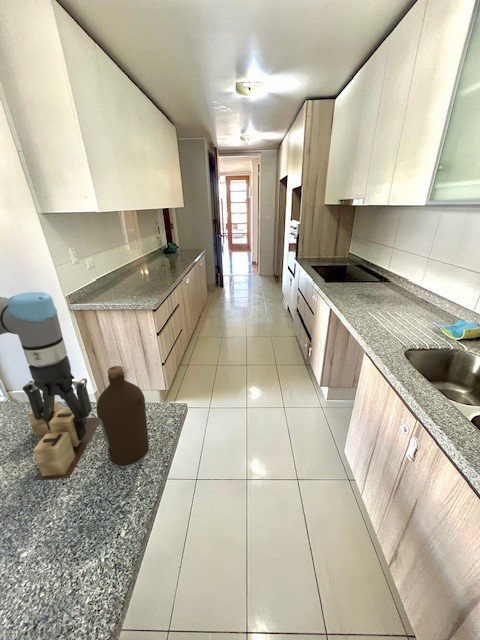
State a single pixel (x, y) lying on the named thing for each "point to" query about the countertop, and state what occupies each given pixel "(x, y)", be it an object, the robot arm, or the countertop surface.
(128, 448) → the olive oil
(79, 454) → the word board
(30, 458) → the countertop surface
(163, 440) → the countertop surface
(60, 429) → the letter I
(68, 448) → the letter T
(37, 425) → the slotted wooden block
